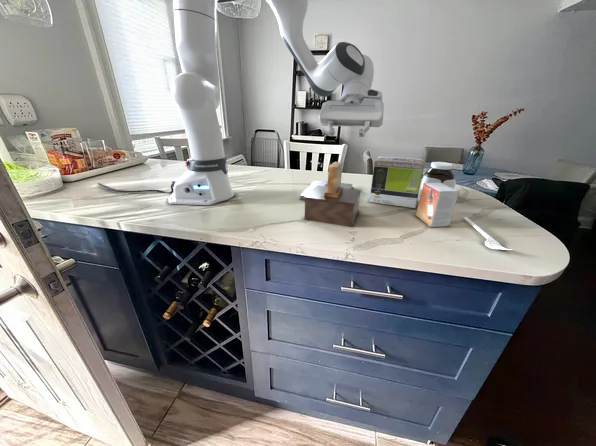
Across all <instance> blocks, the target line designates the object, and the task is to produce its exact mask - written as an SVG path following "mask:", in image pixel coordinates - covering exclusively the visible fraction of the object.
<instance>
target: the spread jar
mask: <svg viewBox="0 0 596 446" xmlns="http://www.w3.org/2000/svg"><path fill="white" fill-rule="evenodd" d="M453 165H454V164H453V163H450V162H446V161H432V162H431V164H430V167H429V168H428V169H426V171H425V172H424V173H423V175H422V180H421V189H422V188H423V184H424V183H443V184H444V185H446V186H449V187H451V188H453V189H455V187H456V185H457V182H456V179H455V173H454V172H453V170H452V169H453Z"/></svg>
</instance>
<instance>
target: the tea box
mask: <svg viewBox="0 0 596 446" xmlns="http://www.w3.org/2000/svg"><path fill="white" fill-rule="evenodd" d="M424 169H425V158H418V157H417V158H416V157H402V156H401V157H399V156H384V155H378V157H377V158H376V159H375V160H374V162H373V170H372V179H371V184H370V185H371V186H370V194H369V202H370V203H375V204H381V205H390V206H397V207H405V208H410V209H416V208H417V204H418V202H417V201H418V200H419V199H418V198H419V193H420V190H421V189H420V188H421V185H422V181H423V176H424Z"/></svg>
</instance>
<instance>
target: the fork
mask: <svg viewBox="0 0 596 446" xmlns="http://www.w3.org/2000/svg"><path fill="white" fill-rule="evenodd" d="M463 219H464V221H466V222H467V223H468V224H469V225H471V226H472V227H473V228H474V229H475V230H476V231H477V232H478V233H479V234H480V235H482V237H484V238H485V241H484V245H485V246H486V247H487V248H489V249H493V250H502V251H513V250H514V249H510V248H506V247H504V246H502V244H500V242H498V241H497V240H496V239H494V238H493V237H492V236H491V235H489V234H488V233H487V232H486V231H485V230H484V229H483V228H481V227H480V226H478V225H477V224H476V223H475V222H474V221H473V220H471V219H470V218H469V217H467V216H464V217H463Z"/></svg>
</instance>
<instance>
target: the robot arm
mask: <svg viewBox="0 0 596 446" xmlns="http://www.w3.org/2000/svg"><path fill="white" fill-rule="evenodd" d="M236 1H237V0H172V13H173V25H174V40H175V48H176V52H177V54H178V58H179V62H180V67H181V72H182V73H180V74H178V75H177V76H175V77H174V78H173V80H172V82H171V83H170V95H171V98H172V100H173V102H174V104H175V105H176V107H177V111H178V114H179V117H180V119H181V122H182V125H183V127H184V131H185V133H186V138H187V144H188V147H189V154H190V157H188V159H187V160H186V161H185V163H184V164H185V167H186V168H187V170H186V171H185V172H183V174H182V175H180V176H179V177H178V178H176V179H174V180H171V184H170V190H171V191H169V192H168V191H163V190H161V189H140V190H138V189H137V190H125V189H124V190H123V189H115V188H111V187H109V186H107V185H105V184H103V183H101V182H97V185H99V186H100V187H102V188H104V189H108V190H110V191H112V192H118V193H149V192H158V193H161V194H170V196H168V198H167V200H168V204H170V205H189V206H190V205H191V206H195V205H196V206H212V205H215V204H217V203H221V202H224V201H227V200H230V199H232V198H233V197H234V196H235V193H234V190H233V188H232V185H231V181H230V178H229V166H228V160H227V156H226V154H225V146H224V140H223V138H224V137H223V133H222V129H221V125H220V121H219V118H218V113H217V109H218V107H219V106H220V103H221V86H220V75H219V74H220V73H219V63H218V57H217V56H218V53H217V52H218V51H217V50H218V49H217V3H218V4H222V3H227V2H229V3H231V2H236ZM265 1H266V2H267V3H268V5H269V6H270V8H271V9H272V12H273V14H274V15H275V17H276V19H277V23H278V28H279V29H278V30H279V34H280V36H281V39H282V40H283V42H284V44H285V46H286V47H287V50H288V51H289V52H290V54H291V55H292V57H293V58H294V60H295V62H296V64H297V65H298V66H299V69H300V70H301V71H302V74H303V75H304V77H305V78H306V81H307V83H308V85H309V88H310V90H311V91H312V92H313V94H315V95H317V96H319V97H322V98H326V97H330V96H331V95H332V94H333V93H334V92H335V91H336V90H337V89H338V87H340V86H341V85H343V90H342V93H341V97H340V99H333V100H331V99H330V100H327V101H325V102H323V103H322V105H321V108H320V111H319V114H318V122H319V125H320V126H323V127H327V128H328V136H329V137H334V136H335V134H336V131H335V128H334V127H351V128H353V127H355V128H360V129H359V132H358V137H359V138H364V137H365V134H366V133H367V132H368V131H369V130H370V128H380V127H381V126H383V122H384V113H385V112H384V111H385V110H384V109H385V108H384V102H383V92H382V91H381V90H376V89H372V85H373V82H374V75H375V74H374V73H375V71H374V70H375V69H374V68H375V67H374V63H373V60H372V59H371V57H370V56H368V55H366V54H362V52H361V50H360V49H359V48H358V47H357V46H356V45H354V44H352V43H351V42H347V41H340V42H338V43H336V45H335V46H334V47H333V48H332V49H330V50H329V52H328V53H327V54H326V56H324V58H323V59H321V60H320V62H318V61H317V60H316V58H315V56H314V54H313V53H312V51H311V49H310V48H309V45H308V44H307V43H306V40H305V37H304V32H303V31H304V30H303V29H304V24H305V23H304V22H305V18H306V14H307V11H308V7H309V0H265Z"/></svg>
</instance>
